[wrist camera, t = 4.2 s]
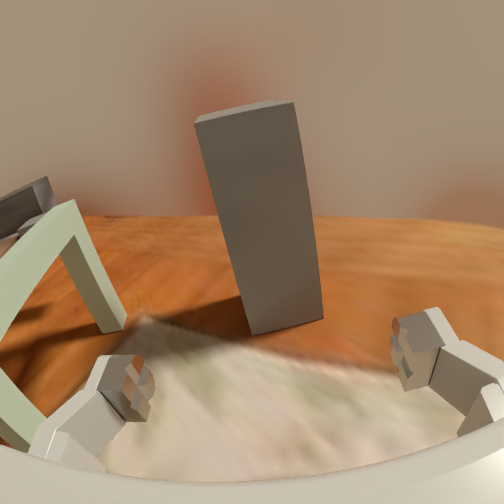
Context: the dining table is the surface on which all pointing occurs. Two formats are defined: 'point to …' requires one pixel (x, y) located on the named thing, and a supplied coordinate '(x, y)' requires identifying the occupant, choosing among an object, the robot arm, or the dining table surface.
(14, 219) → the trapdoor
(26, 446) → the frame
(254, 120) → the tall grey upright prism
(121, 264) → the dining table surface
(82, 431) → the robot arm
